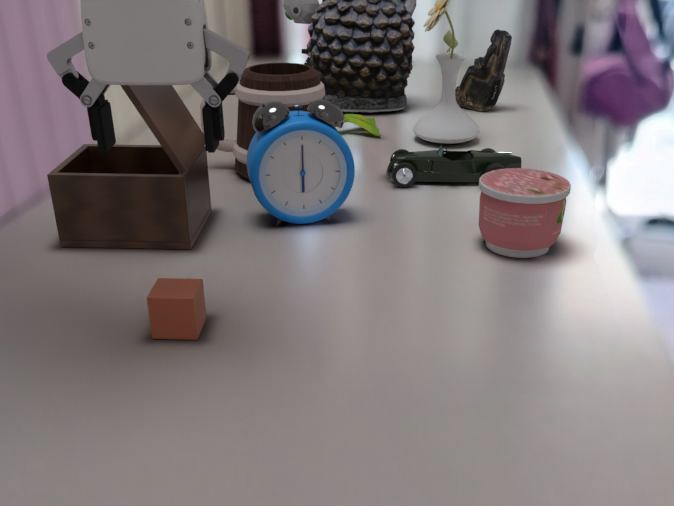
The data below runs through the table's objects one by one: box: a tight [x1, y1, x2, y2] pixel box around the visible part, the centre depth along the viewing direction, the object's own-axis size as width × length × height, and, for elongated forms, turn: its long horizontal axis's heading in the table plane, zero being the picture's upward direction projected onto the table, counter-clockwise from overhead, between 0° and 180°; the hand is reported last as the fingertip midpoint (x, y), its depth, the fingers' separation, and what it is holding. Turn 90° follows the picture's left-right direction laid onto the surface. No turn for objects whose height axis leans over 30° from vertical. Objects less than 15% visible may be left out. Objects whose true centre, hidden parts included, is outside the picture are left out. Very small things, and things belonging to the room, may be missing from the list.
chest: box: [46, 143, 213, 250], centre depth 99 cm, size 16×13×9 cm
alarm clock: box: [247, 99, 356, 226], centre depth 101 cm, size 13×6×15 cm, turn 102°
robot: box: [282, 0, 320, 67], centre depth 179 cm, size 12×15×30 cm
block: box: [146, 277, 207, 341], centre depth 77 cm, size 4×4×4 cm
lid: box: [119, 85, 205, 174], centre depth 92 cm, size 17×13×5 cm
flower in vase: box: [412, 0, 481, 145], centre depth 130 cm, size 13×11×25 cm
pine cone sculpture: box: [306, 0, 417, 113], centre depth 151 cm, size 21×15×25 cm
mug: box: [199, 62, 325, 181], centre depth 118 cm, size 20×15×15 cm
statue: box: [455, 28, 513, 112], centre depth 154 cm, size 6×12×15 cm, turn 46°
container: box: [478, 167, 572, 259], centre depth 95 cm, size 10×10×8 cm
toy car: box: [385, 144, 522, 188], centre depth 117 cm, size 9×20×5 cm, turn 90°
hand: (160, 148), depth 73 cm, fingers open, 9 cm apart
